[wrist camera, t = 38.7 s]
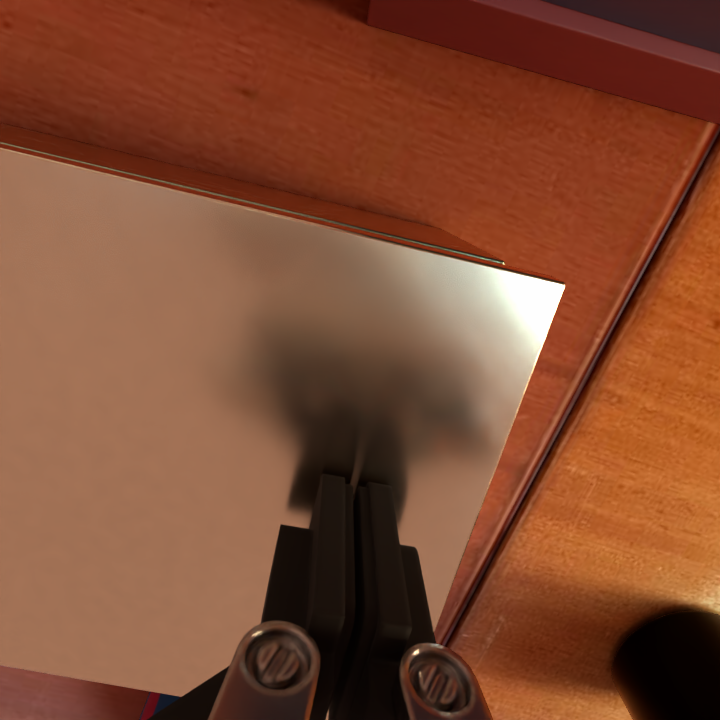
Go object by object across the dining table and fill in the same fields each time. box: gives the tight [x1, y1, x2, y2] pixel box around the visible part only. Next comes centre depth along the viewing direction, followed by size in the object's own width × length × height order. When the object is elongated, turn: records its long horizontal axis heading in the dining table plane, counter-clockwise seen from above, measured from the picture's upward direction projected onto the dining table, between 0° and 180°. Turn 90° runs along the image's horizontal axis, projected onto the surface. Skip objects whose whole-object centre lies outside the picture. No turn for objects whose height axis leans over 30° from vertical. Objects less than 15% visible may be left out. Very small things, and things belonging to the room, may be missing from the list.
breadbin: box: [0, 123, 505, 264], centre depth 16 cm, size 17×14×8 cm
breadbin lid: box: [0, 143, 565, 720], centre depth 12 cm, size 17×14×1 cm
